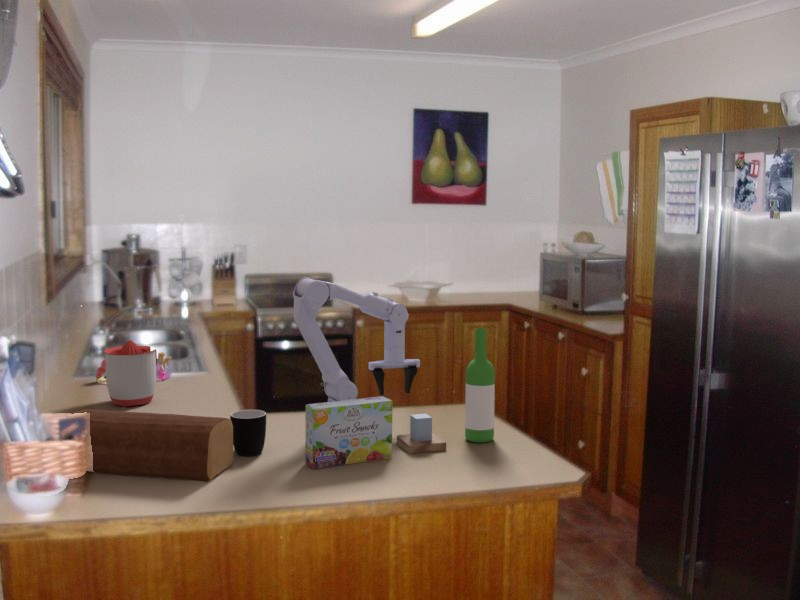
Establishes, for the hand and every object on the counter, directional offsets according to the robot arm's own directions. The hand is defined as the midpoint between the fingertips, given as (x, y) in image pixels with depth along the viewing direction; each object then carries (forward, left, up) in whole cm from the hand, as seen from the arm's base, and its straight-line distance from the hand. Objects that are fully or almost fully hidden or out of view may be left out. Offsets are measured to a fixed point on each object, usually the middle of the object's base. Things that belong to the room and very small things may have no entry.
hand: (394, 393), depth 241 cm
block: (+1, -19, -8) cm, 20 cm away
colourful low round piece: (-66, +91, -10) cm, 113 cm away
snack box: (-20, -25, -10) cm, 34 cm away
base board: (+1, -19, -10) cm, 21 cm away
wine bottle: (+18, -18, -10) cm, 27 cm away
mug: (-43, -9, -10) cm, 45 cm away
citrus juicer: (-68, +55, -10) cm, 88 cm away
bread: (-67, -14, -10) cm, 70 cm away
